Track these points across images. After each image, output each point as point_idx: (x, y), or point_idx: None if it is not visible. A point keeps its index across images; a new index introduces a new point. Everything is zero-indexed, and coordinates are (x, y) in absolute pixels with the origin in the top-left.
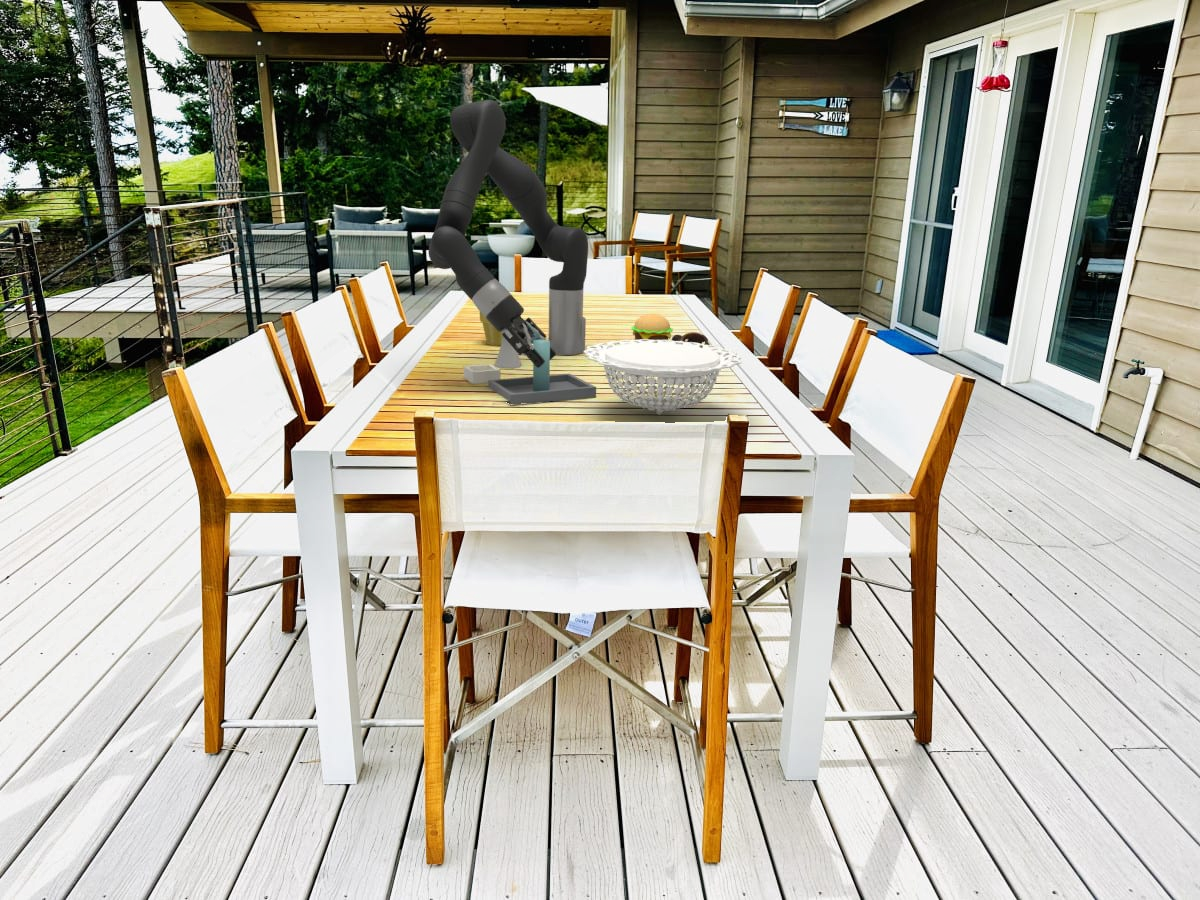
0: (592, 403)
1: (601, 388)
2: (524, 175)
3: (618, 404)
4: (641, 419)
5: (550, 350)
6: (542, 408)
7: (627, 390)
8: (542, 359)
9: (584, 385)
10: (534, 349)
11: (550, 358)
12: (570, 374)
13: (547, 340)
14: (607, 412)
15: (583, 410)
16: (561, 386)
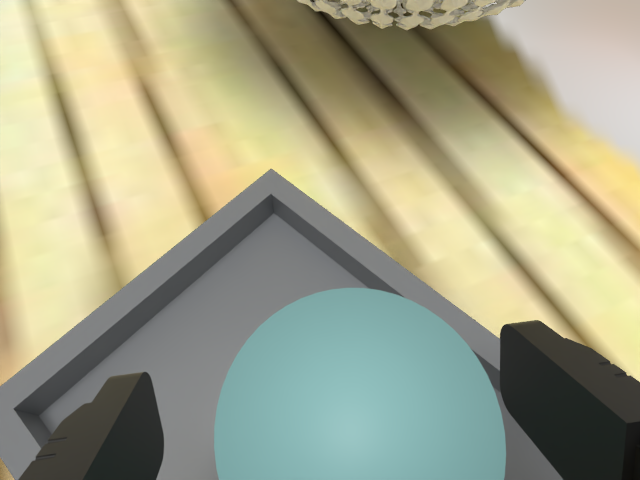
0: (376, 180)
1: (101, 230)
2: None
3: (339, 107)
4: (469, 22)
5: (130, 421)
6: (592, 327)
7: (368, 22)
8: (547, 330)
9: (222, 240)
10: (634, 411)
11: (159, 433)
12: (2, 391)
13: (267, 352)
14: (462, 106)
15: (494, 174)
16: (191, 390)
